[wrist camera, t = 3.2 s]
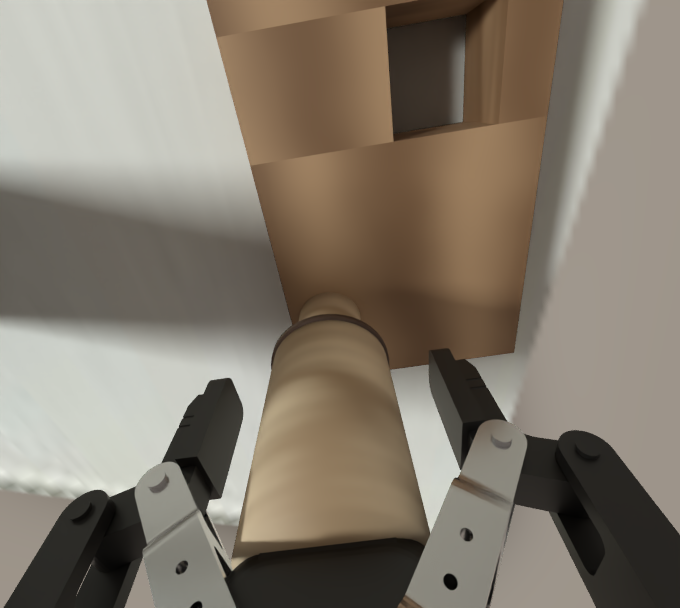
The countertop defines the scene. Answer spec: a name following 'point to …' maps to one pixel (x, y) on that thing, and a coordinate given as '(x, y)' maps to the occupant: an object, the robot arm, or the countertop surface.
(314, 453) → the peg
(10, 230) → the countertop surface
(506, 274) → the board
